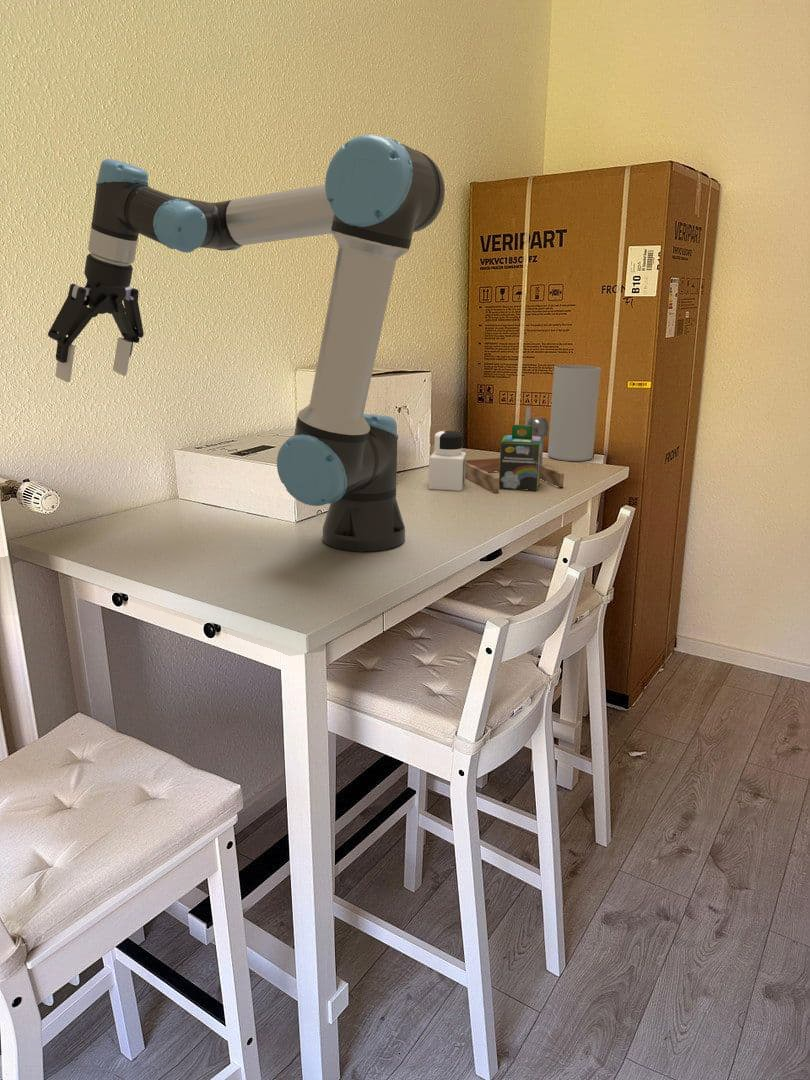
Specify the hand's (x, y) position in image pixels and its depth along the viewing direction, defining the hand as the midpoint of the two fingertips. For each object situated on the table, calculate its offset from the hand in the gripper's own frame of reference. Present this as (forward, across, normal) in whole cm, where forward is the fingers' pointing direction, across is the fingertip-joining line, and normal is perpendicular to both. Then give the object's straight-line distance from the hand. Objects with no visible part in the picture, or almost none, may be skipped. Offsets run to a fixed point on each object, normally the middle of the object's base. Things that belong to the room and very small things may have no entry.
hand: (92, 376), depth 142 cm
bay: (+7, -72, +65) cm, 97 cm away
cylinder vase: (+5, -109, +71) cm, 130 cm away
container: (+11, -59, +54) cm, 81 cm away
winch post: (+7, -91, +66) cm, 112 cm away
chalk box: (+6, -68, +68) cm, 97 cm away
